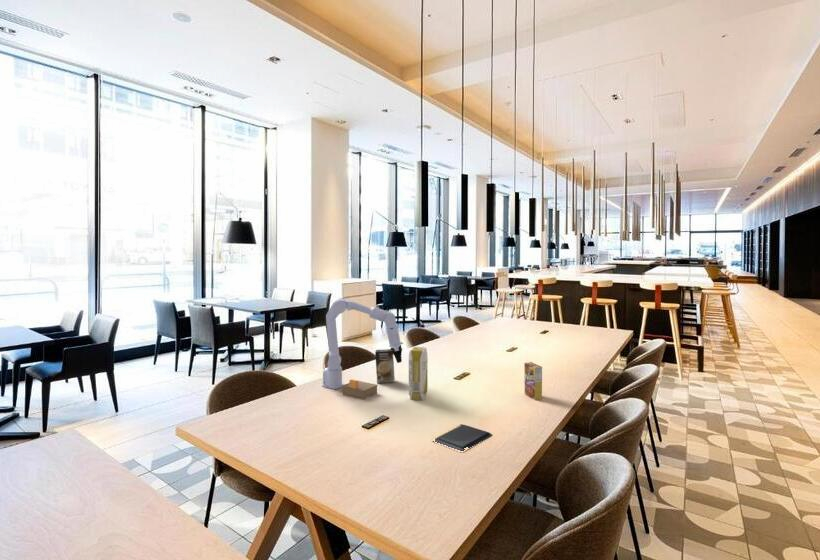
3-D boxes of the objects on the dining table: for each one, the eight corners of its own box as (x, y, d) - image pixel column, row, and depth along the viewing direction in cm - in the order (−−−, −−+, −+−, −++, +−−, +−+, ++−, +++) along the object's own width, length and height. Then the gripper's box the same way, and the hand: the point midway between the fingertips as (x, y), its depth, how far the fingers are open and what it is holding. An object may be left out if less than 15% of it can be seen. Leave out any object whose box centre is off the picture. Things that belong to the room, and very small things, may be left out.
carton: (342, 394, 210) (342, 386, 210) (356, 388, 218) (356, 381, 218) (363, 399, 203) (363, 391, 202) (377, 393, 211) (377, 386, 211)
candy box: (523, 394, 209) (523, 362, 208) (531, 393, 210) (531, 361, 209) (534, 400, 200) (534, 367, 199) (542, 399, 202) (542, 366, 201)
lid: (341, 386, 210) (341, 378, 209) (356, 381, 218) (356, 373, 218) (363, 391, 202) (363, 383, 202) (377, 385, 211) (377, 377, 210)
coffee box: (376, 383, 226) (374, 351, 226) (377, 380, 232) (375, 349, 232) (394, 382, 226) (392, 350, 226) (395, 379, 232) (393, 348, 232)
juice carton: (424, 401, 200) (424, 348, 198) (407, 400, 201) (407, 348, 200) (428, 394, 209) (428, 344, 207) (411, 393, 210) (411, 343, 209)
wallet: (461, 449, 149) (427, 436, 159) (461, 455, 149) (428, 441, 159) (494, 431, 163) (461, 420, 174) (494, 436, 163) (461, 425, 174)
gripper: (402, 336, 216) (408, 363, 217) (400, 331, 230) (405, 356, 232) (388, 339, 215) (394, 366, 217) (386, 334, 230) (392, 359, 231)
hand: (399, 361), depth 224 cm, fingers open, 4 cm apart
